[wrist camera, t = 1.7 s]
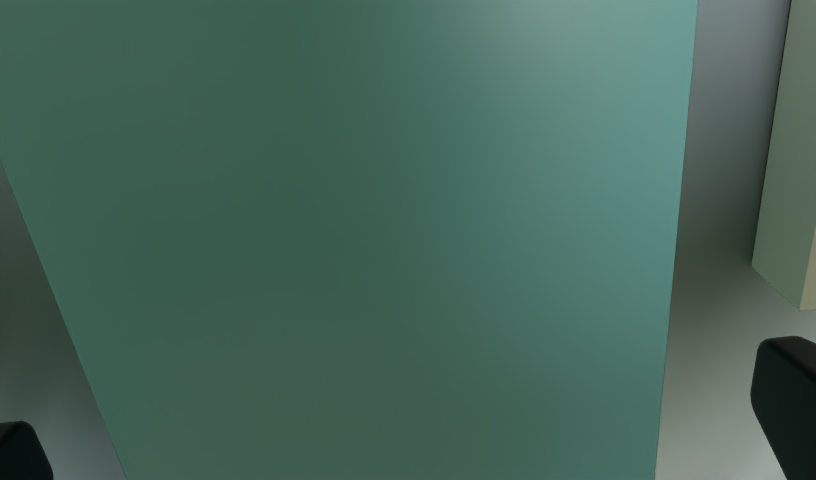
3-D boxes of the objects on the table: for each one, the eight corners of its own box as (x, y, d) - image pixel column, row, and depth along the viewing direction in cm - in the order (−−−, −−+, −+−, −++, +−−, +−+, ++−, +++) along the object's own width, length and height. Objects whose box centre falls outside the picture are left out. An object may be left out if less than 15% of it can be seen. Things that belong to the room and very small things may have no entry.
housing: (544, -142, 9) (717, -199, 4) (549, 481, 14) (630, 745, 10) (134, -97, 9) (-107, -105, 4) (288, 509, 14) (248, 786, 10)
